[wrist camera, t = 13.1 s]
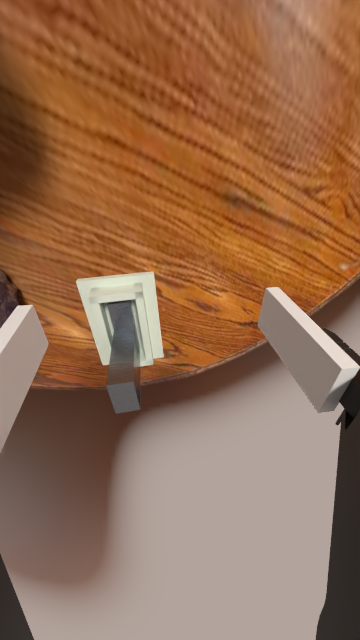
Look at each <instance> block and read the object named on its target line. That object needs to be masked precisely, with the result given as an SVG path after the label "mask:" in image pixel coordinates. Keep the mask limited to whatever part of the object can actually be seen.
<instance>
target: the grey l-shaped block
mask: <svg viewBox="0 0 360 640" xmlns="http://www.w3.org/2000/svg"><path fill="white" fill-rule="evenodd" d="M107 306H108V310H109V314H110V317H111V321H112V325H113V329H114V333H113V340H112V347H111V354H110V361H109V368H108V375H107V382H106V387H107V390H108V393H109V396H110V398H111V401H112V404H113V407H114V410H115V413H116V414H117V413H123V412H129V411H136V410H140V344H139V339H138V334H137V329H136V324H135V319H134V314H133V309H132V304H131V300H123V301H114V302H108V303H107Z"/></svg>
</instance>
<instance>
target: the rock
mask: <svg viewBox="0 0 360 640" xmlns="http://www.w3.org/2000/svg"><path fill="white" fill-rule="evenodd" d="M17 292H18V288H17V287H16V286H15V285H14V284H12V283H11V282H9V281H8V280H7V277H6V275H5V273H4V272H3V271H2V270H1V269H0V328H1V327H2V326H3V324H4V323H5V322H6V320H7V319H8V318H9V316H10V315H11V314H12V312H13V311H14V310H15V308H16V307H17V306H20V304H19V302H18V300H17Z"/></svg>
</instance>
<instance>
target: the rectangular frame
mask: <svg viewBox="0 0 360 640" xmlns="http://www.w3.org/2000/svg"><path fill="white" fill-rule="evenodd" d="M76 283H77V286H78V290H79V293H80V296H81V299H82V302H83V305H84V308H85V312H86V315H87V318H88V321H89V324H90V327H91V330H92V333H93V337H94V340H95V343H96V346H97V349H98V352H99V355H100V358H101V362H102V365H109V361H110V354H111V347H112V340H113V333H114V329H113V325H112V321H111V317H110V314H109V310H108V306H107V303H108V302H114V301H123V300H131V304H132V309H133V314H134V319H135V324H136V329H137V334H138V339H139V344H140V366H147V365H153V359H155V358H162V357H164V356H163V348H162V339H161V331H160V322H159V313H158V305H157V296H156V288H155V279H154V271H152V272H142V273H132V274H123V275H113V276H103V277H93V278H83V279H77V281H76Z"/></svg>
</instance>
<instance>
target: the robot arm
mask: <svg viewBox="0 0 360 640" xmlns="http://www.w3.org/2000/svg"><path fill="white" fill-rule="evenodd" d="M258 327H259V328H260V329H261V331H262V332H263V334H264V335H265V337H266V338H267V340H268V341H269V342H270V344H271V345H272V347H273V348H274V350H275V351H276V353H277V354H278V355H279V357H280V358H281V360H282V361H283V363H284V364H285V366H286V367H287V369H288V370H289V371H290V373H291V374H292V376H293V377H294V379H295V380H296V382H297V383H298V384H299V386H300V387H301V389H302V390H303V392H304V393H305V395H306V396H307V397H308V399H309V400H310V402H311V403H312V405H313V406H314V408H315V409H316V410H317V412H318V413H321V412H328V411H334V410H335V408H336V406H337V405H338V403H339V402H340V403H341V404H342V406H343V407H344V408H345V409H344V410H343V412H342V414H341V415H340V417H339V418H338V420H337V422H336V425H339V423H340V422H341V430H340V442H339V454H338V466H337V477H336V490H335V501H334V512H333V513H334V514H333V524H332V536H331V547H330V560H329V571H328V583H327V593H326V600H325V604H324V607H323V609H322V612H321V614H320V618H319V621H318V626H317V634H316V640H360V356H359V355H358V354H357V353H355V352H354V351H353V350H352V349H351V348H349V346H348V345H347V344H346V343H343V341H342V340H341V339H340V338H339V337H338V336H337V335H336V334H335V333H333V332H331V331H329V330H327V329H325V328H323V329H321V328H320V327H318V325H317V324H315V323H314V322H313V321H312V320H311V319H310V318H309V317H308V316H307V315H306V314H305V313H304V312H303V311H302V310H301V309H300V308H299V307H298V306H297V305H296V304H295V303H294V302H293V301H292V300H291V299H290V298H289V297H288V296H287V295H286V294H285V293H284V292H283V291H282V290H280V289H279V288H278V287H272V288H266V290H265V294H264V299H263V303H262V307H261V312H260V316H259V321H258ZM48 345H49V343H48V341H47V338H46V336H45V333H44V331H43V328H42V326H41V323H40V321H39V319H38V316H37V314H36V311H35V309H34V306H33V305H22V306H17V307H16V308H15V310H14V311H13V312H12V314H11V315H10V316H9V318H8V319H7V320H6V322H5V323H4V324H3V326H2V327H1V328H0V452H1V450H2V448H3V446H4V444H5V441H6V439H7V437H8V435H9V432H10V430H11V428H12V425H13V423H14V421H15V419H16V416H17V414H18V412H19V410H20V407H21V405H22V403H23V401H24V399H25V396H26V394H27V392H28V390H29V387H30V385H31V383H32V381H33V379H34V376H35V374H36V372H37V370H38V367H39V365H40V363H41V361H42V358H43V356H44V354H45V352H46V349H47V347H48ZM0 640H34V639H33V636H32V633H31V631H30V628H29V626H28V623H27V621H26V618H25V616H24V613H23V610H22V608H21V605H20V603H19V600H18V598H17V595H16V593H15V590H14V588H13V585H12V582H11V580H10V577H9V575H8V572H7V570H6V567H5V565H4V562H3V560H2V557H1V554H0Z"/></svg>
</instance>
